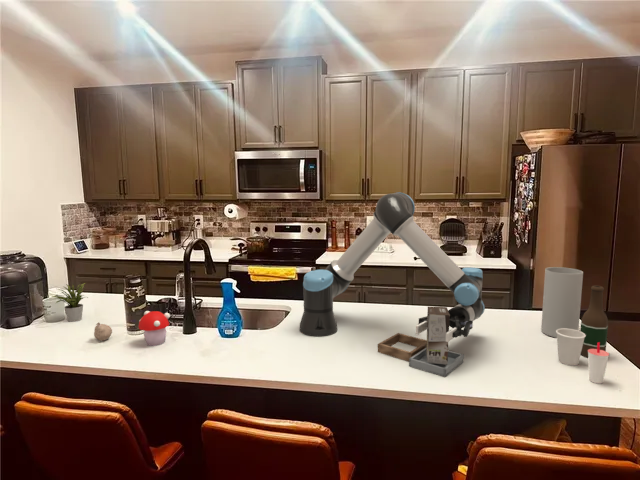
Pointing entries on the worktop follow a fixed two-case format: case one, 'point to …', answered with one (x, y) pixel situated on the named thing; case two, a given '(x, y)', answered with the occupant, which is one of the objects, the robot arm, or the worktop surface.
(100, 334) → the garlic bulb
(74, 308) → the house plant
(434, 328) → the coffee box
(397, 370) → the worktop surface
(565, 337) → the dixie cup
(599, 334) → the beer bottle
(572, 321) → the cylinder vase
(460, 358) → the tray
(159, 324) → the mushroom
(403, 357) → the brown square frame
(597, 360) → the cup
